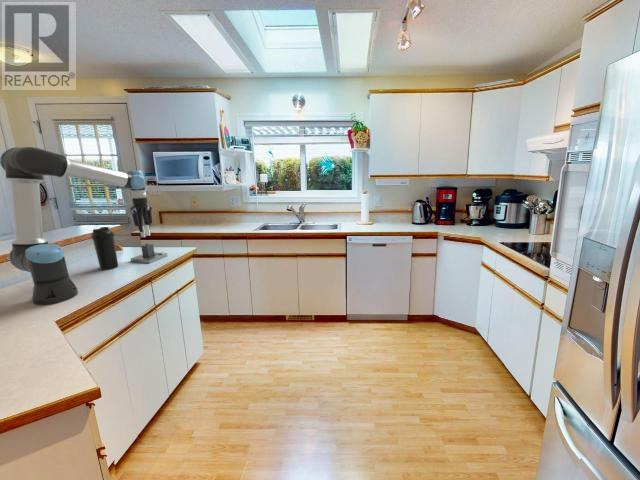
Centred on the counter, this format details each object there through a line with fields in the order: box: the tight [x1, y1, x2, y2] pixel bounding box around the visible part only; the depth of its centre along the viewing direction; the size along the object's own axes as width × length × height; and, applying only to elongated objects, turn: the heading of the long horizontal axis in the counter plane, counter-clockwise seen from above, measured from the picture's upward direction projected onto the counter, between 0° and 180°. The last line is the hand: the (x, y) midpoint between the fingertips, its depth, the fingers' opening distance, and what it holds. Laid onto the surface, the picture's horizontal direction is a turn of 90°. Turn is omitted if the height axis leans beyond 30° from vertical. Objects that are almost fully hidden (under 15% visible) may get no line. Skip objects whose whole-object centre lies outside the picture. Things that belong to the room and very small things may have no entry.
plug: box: [140, 242, 155, 258], centre depth 183 cm, size 4×4×10 cm
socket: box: [130, 251, 168, 264], centre depth 184 cm, size 14×14×3 cm
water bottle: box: [91, 226, 119, 271], centre depth 167 cm, size 10×10×23 cm
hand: (145, 236), depth 180 cm, fingers open, 3 cm apart
